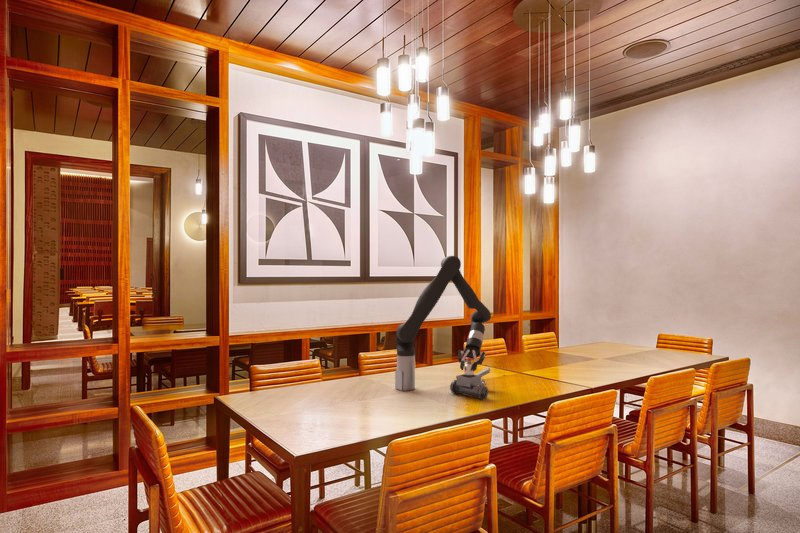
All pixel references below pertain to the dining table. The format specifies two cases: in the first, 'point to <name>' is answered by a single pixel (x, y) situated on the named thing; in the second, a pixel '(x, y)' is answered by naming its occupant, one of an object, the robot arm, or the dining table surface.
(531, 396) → the dining table surface
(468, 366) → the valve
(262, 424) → the dining table surface
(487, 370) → the door handle
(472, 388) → the grey toy rover
